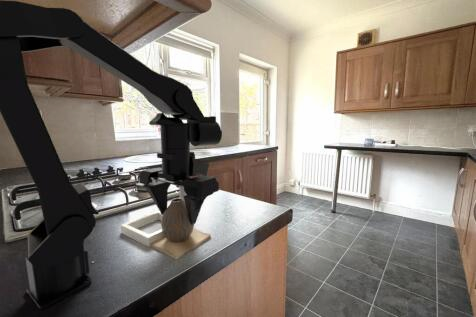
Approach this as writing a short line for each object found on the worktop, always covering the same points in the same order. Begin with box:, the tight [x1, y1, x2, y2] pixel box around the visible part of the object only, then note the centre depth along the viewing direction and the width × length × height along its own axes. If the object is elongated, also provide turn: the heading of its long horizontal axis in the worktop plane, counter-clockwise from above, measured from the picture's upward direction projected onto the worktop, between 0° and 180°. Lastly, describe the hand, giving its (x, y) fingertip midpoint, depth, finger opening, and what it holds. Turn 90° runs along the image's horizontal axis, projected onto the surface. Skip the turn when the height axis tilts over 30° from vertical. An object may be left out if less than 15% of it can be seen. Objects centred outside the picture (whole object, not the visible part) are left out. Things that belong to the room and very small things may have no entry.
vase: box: [160, 197, 195, 242], centre depth 47 cm, size 7×7×9 cm
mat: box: [149, 228, 212, 260], centre depth 48 cm, size 10×10×1 cm
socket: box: [120, 185, 187, 247], centre depth 54 cm, size 16×11×10 cm
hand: (177, 218), depth 47 cm, fingers open, 9 cm apart
